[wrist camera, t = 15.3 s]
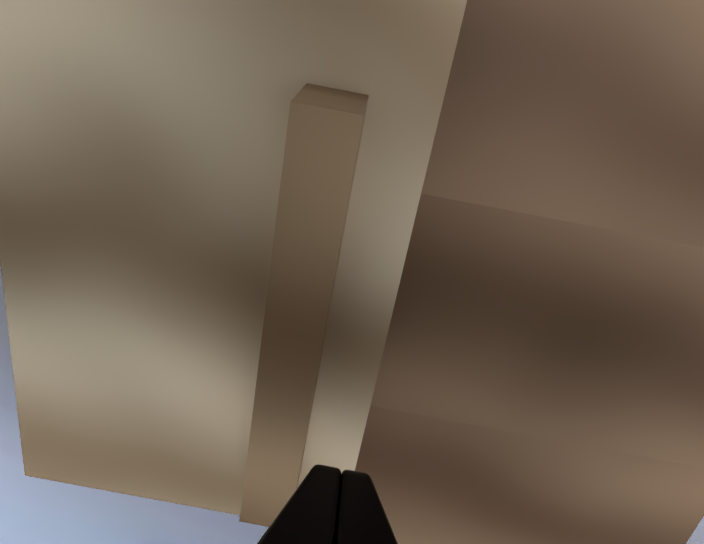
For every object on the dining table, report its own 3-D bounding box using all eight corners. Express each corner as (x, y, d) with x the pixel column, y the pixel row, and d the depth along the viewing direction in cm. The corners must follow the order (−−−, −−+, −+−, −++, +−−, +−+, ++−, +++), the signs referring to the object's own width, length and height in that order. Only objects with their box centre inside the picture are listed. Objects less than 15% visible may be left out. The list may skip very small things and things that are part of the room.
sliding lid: (342, 510, 17) (333, 593, 15) (40, 454, 17) (-16, 529, 15) (464, -7, 11) (481, -2, 9) (-13, -100, 11) (-125, -120, 9)
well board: (637, 548, 19) (655, 591, 18) (64, 442, 19) (38, 476, 18) (943, 29, 12) (1011, 36, 11) (23, -151, 12) (-26, -167, 11)
